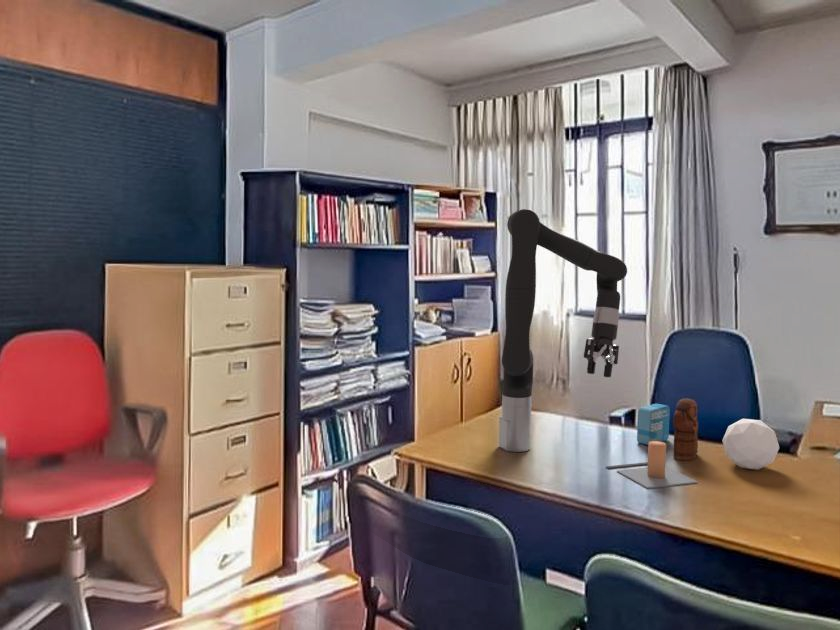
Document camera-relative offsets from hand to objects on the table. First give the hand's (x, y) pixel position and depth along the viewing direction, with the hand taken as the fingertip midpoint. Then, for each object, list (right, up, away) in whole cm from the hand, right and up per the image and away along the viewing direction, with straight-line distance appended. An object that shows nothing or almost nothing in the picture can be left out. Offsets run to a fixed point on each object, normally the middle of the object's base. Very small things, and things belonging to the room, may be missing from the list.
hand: (598, 375), depth 203 cm
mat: (+11, -27, -16) cm, 33 cm away
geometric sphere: (+42, -26, -9) cm, 50 cm away
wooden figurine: (+27, -25, +2) cm, 37 cm away
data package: (+22, -24, +17) cm, 37 cm away
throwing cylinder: (+11, -26, -18) cm, 34 cm away
